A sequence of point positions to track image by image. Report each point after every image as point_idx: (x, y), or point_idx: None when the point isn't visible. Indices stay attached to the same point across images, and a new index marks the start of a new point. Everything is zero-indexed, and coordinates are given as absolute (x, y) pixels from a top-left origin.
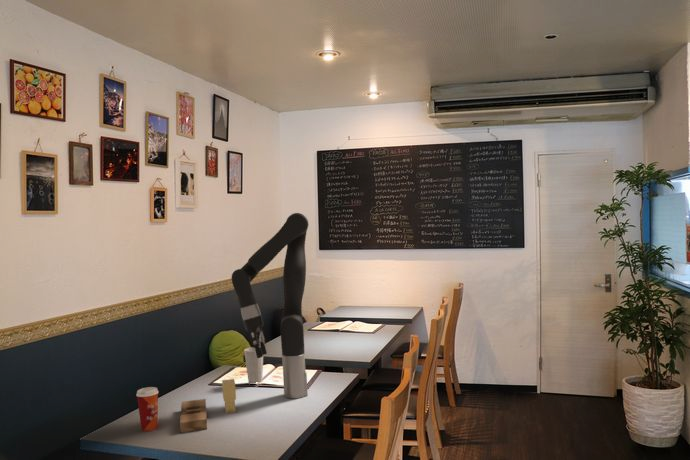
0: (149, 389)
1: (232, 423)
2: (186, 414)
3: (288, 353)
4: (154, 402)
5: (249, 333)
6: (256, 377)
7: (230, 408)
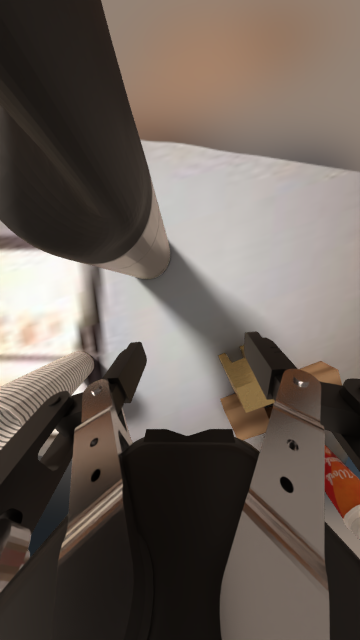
0: None
1: (301, 329)
2: None
3: (148, 192)
4: (358, 480)
5: None
6: (82, 364)
7: None
